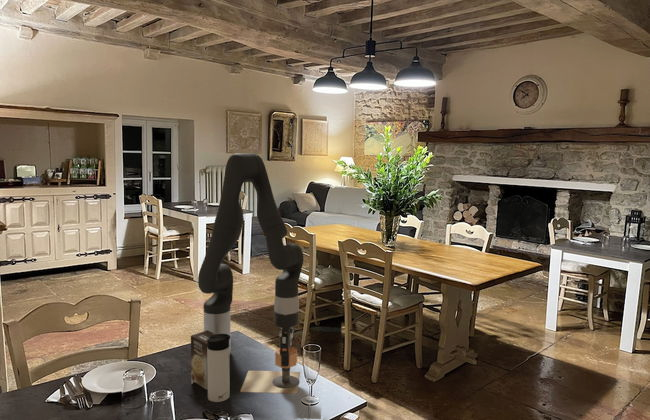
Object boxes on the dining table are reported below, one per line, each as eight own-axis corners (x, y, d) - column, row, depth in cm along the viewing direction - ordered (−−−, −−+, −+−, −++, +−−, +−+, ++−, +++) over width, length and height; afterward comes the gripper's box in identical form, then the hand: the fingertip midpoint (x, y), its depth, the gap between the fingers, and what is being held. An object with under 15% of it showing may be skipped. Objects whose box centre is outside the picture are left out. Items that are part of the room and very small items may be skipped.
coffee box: (190, 384, 149) (189, 335, 147) (207, 377, 154) (207, 329, 152) (206, 394, 143) (206, 343, 141) (224, 387, 148) (224, 337, 146)
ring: (274, 367, 145) (274, 354, 145) (277, 358, 151) (277, 346, 151) (295, 368, 145) (295, 355, 144) (297, 358, 151) (297, 346, 151)
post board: (240, 396, 142) (240, 371, 142) (248, 374, 156) (248, 352, 155) (297, 398, 142) (297, 373, 141) (300, 376, 156) (301, 353, 155)
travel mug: (225, 408, 136) (225, 340, 133) (204, 405, 137) (203, 338, 135) (234, 397, 142) (233, 332, 140) (213, 394, 143) (212, 330, 141)
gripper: (277, 301, 153) (277, 351, 155) (271, 316, 139) (271, 371, 141) (300, 302, 153) (300, 352, 155) (296, 317, 139) (296, 372, 141)
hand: (286, 361), depth 148 cm, fingers closed on ring, 6 cm apart
